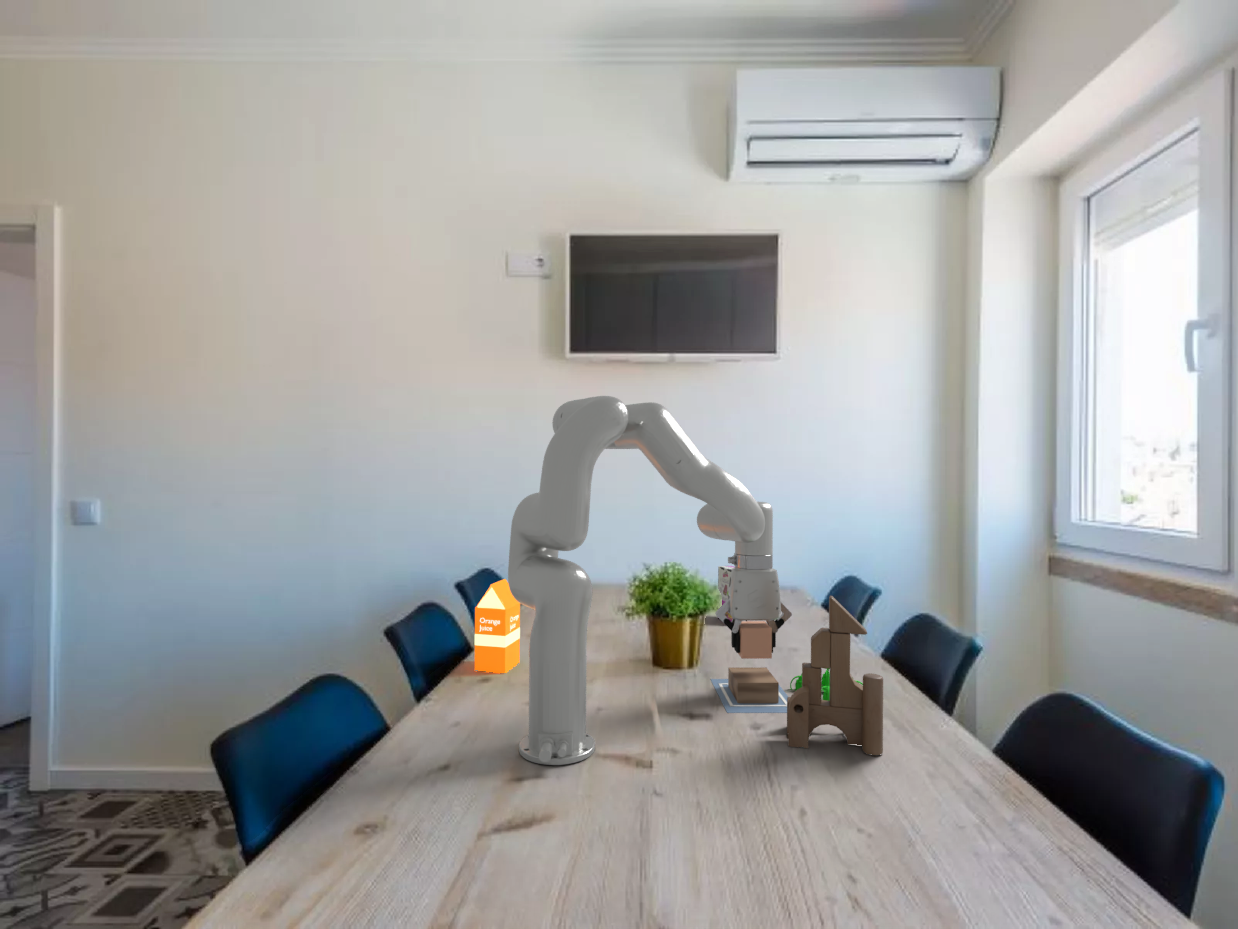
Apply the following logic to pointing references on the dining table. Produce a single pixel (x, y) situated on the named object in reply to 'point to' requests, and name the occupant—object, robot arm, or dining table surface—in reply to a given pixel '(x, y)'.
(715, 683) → the blueprint board
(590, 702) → the dining table surface
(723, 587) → the candy bar box
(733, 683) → the walnut base
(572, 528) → the robot arm
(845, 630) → the wooden toy
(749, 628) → the terracotta cube
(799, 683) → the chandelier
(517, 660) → the orange juice
